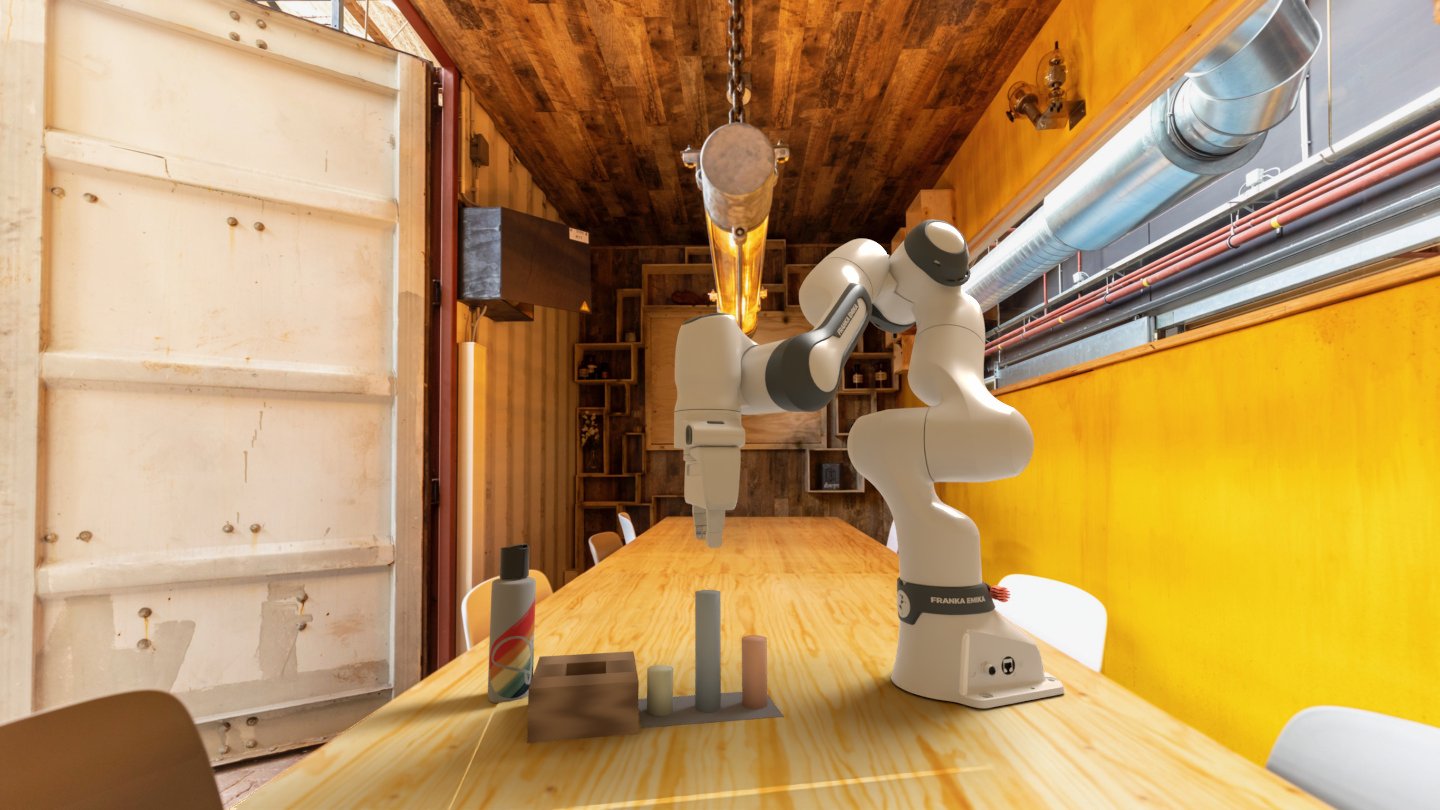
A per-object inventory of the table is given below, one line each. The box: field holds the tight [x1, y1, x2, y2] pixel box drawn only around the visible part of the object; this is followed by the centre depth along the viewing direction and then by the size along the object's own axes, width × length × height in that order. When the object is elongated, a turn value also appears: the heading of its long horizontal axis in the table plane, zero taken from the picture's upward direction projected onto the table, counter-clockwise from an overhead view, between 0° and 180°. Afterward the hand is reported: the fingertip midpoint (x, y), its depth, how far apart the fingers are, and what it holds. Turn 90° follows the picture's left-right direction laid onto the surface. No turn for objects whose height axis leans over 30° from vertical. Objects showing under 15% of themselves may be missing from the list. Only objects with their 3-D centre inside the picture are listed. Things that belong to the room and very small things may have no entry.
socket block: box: [526, 650, 640, 744], centre depth 74 cm, size 12×12×6 cm
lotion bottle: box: [487, 543, 537, 704], centre depth 83 cm, size 6×6×20 cm
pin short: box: [646, 664, 674, 716], centre depth 76 cm, size 3×3×5 cm
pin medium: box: [741, 634, 768, 709], centre depth 78 cm, size 3×3×8 cm
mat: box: [638, 691, 785, 729], centre depth 76 cm, size 17×9×1 cm, turn 101°
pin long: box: [694, 589, 722, 713], centre depth 77 cm, size 3×3×14 cm
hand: (707, 542), depth 78 cm, fingers open, 8 cm apart
